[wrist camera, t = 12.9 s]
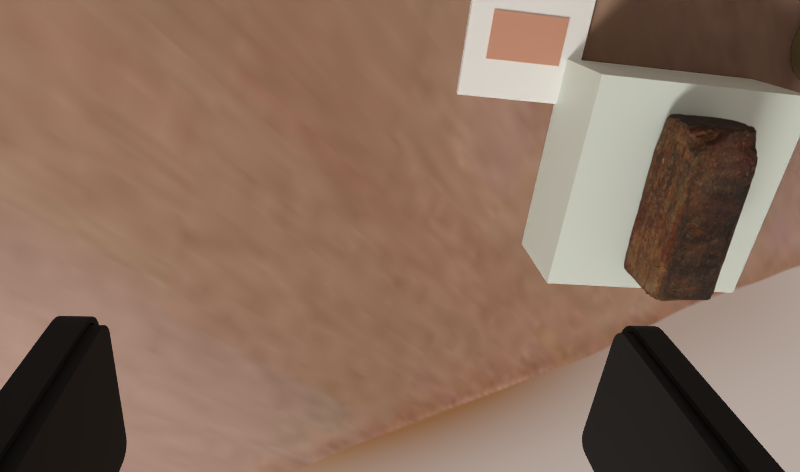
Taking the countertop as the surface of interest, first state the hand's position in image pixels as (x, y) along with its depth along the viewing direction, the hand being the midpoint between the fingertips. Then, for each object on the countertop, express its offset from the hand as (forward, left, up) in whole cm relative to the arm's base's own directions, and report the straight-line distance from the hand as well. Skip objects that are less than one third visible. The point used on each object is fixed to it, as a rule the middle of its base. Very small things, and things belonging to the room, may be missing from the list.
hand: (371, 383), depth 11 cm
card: (-4, +11, -30) cm, 32 cm away
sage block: (+4, +21, -30) cm, 37 cm away
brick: (+4, +21, -24) cm, 32 cm away
